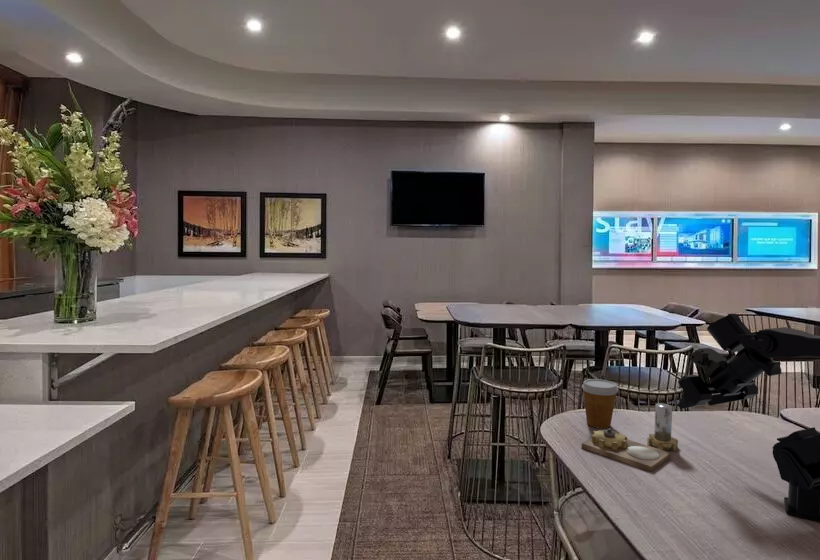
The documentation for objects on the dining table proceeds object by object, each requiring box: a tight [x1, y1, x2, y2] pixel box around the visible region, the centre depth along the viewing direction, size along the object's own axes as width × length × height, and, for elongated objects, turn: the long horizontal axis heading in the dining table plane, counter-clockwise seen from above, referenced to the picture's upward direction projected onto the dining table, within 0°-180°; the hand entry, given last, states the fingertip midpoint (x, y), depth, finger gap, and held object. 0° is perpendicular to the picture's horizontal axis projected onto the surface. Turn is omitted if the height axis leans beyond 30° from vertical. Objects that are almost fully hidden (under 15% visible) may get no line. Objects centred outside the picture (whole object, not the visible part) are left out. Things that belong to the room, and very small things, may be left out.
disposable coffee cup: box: [581, 378, 619, 429], centre depth 137 cm, size 10×10×12 cm
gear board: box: [581, 427, 672, 472], centre depth 119 cm, size 17×11×5 cm, turn 41°
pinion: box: [646, 402, 679, 452], centre depth 122 cm, size 7×7×10 cm
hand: (694, 405), depth 114 cm, fingers open, 9 cm apart
